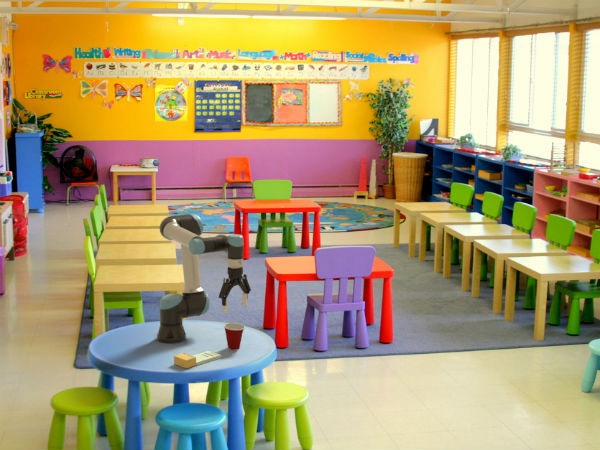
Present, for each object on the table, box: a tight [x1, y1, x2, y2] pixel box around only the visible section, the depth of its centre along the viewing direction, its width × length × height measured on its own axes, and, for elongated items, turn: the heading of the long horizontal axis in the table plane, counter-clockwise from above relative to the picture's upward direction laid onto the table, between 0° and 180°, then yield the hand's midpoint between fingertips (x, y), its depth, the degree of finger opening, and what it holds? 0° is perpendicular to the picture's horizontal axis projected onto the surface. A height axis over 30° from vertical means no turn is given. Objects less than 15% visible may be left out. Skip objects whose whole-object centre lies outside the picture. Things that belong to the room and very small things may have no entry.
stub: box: [173, 352, 196, 369], centre depth 387 cm, size 9×6×4 cm, turn 48°
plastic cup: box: [223, 322, 246, 351], centre depth 412 cm, size 11×11×12 cm
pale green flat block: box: [192, 350, 222, 367], centre depth 395 cm, size 9×16×2 cm, turn 138°
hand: (234, 308), depth 396 cm, fingers open, 13 cm apart
